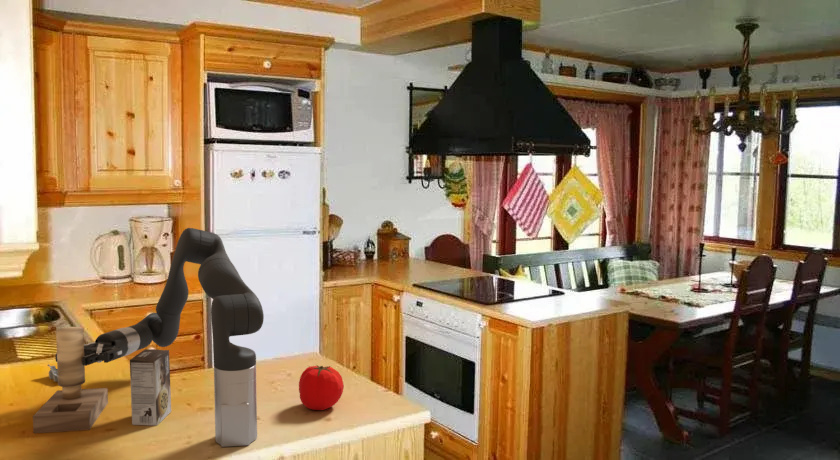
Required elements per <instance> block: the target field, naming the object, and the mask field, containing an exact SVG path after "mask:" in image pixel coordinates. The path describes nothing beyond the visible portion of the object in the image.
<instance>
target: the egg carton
mask: <svg viewBox="0 0 840 460" xmlns="http://www.w3.org/2000/svg"><path fill="white" fill-rule="evenodd" d="M47 367H49V368H50V370H49V371H48V379H50V380H53V382H58V369H57V368H56V366H55V365H51V364H49V363H48V364H47Z"/></svg>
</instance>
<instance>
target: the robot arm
mask: <svg viewBox="0 0 840 460" xmlns="http://www.w3.org/2000/svg"><path fill="white" fill-rule="evenodd" d="M176 243H177V244H176V247H175V250H174V254H173V256H172V257H173V258H172V261H171V264H170V268H169V272H168V276H167V279H166V283H165V285H164V288H163V290H162V293H161V295H160V297H159V299H158V302H157V303H156V307H155V312H151V313H149V314H148V315H146V316H145V317H144V318H143V319H141V320H140V321H139V322H137V323H136V324H134V325H133V324H132V325H130V326H126V327H121V328H116V329H115V330H111V331H108V332H104V333H101V334H99V335H98V336H97V337H96V339H95V341H93V342H88V343H84V357H83V358H82V363H83V365H84V366H85V367H86V366H90V365H92V364H95V363H98V364H99V363H102V362H103V363H105V364H107V363H110V362H112V361H115V360H119V359H121V358H123V357H127V356H129V355H131V354H133V353H134V352H136V351H140V350H142V349H143V350H144V349H145V348H147V347H149V346H150V345H151V343H152V342H153V343H154V344H155V345H156V346H158V347H160V348H165V347H166V348H167V347H168V346H171V345H172V344H173V343H174V342H175V340H176V339H177V337H178V335H179V331H180V322H181V315H182V312H183V310H184V307H185V305H186V303H187V301H188V298H189V286H188V282H187V279H186V276H185V272H184V271H185V270H184V267H185V263H186V262H188V263H192V264H196V265H197V264H198V265H199V267H198V271H197V278H198V281H199V284H200V287H201V288H202V290H203V291H204V293H205V294H206V296H208V297H209V298H210V299H212V301H211V307H210V320H211V332H212V348H213V349H212V351H213V376H214V377H213V380H214V381H213V384H214V386H213V387H214V389H213V390H214V433H215V434H214V435H215V436H214V437H215V442H216V443H217V444H219V446H220V447H221V448H226V447H238V446H239V447H241V446H242V447H243V446H250V445H251V443H252V442H254V441H255V440H257V438H258V407H257V406H258V405H257V403H258V402H257V401H258V400H257V395H258V394H257V354H256V352H255V351H254V350H253V349H252V348H249V347H245V346H240V345H237V344H234V343H232V342H231V341H230V337H236V336H237V337H238V336H246V335H252V334H254V333H257V332H259V331H260V330H261V329H262V327H263V325H264V317H265V316H264V309H263V307H262V304H261V301H260V299H259V298H258V296H257V295H256V293H255V292H254V291H253V290H252V289H251V288H250V287H249V286H248V285H247V284H246V283H245V281H244V280H243V278H242V277H241V276H240V273H239V271H238V269H237V268H236V266H235V265H234V264H233V262H232V261H231V259H230V257H229V256H228V254H227V252H226V249H225V245H224V243H223V239H221V237H220V235H219V234H217V233H214V232H211V231H207V230H202V229H200V228H199V229H197V228H193V227H187V228H185V229H184V230H183V231H182V233H181V234H180V236H179V237H178V241H177V242H176ZM54 356H55V362H56V363H57V352H56V354H55V355H54Z"/></svg>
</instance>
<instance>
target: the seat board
mask: <svg viewBox="0 0 840 460" xmlns="http://www.w3.org/2000/svg"><path fill="white" fill-rule="evenodd" d="M108 391H109V390H108V387H101V388H100V387H99V388H84V389H83V388H81V397H79V398H77V399H71V400H66V399H63V394H62V389H60V390H59V389H58V390H56V391H55V392H54V393H53V394H52V395H51V397H49V399H47V400H46V402H45V403H44V404H43V405H42V406H41V407H40V408H39V410H37V411H36V413H34V415H32V425H33V426H32V427H33V434H40V433H41V434H42V433H57V432H61V433H62V432H73V431H76V432H77V431H89V430H90V429H91V428H92V427H93V425H94V424H95V423H96V421H97V420H98V418H99V417H100V416H101V414H102V412H104V409H105V408H106V406H107V405H108V404H109V397H108V396H109V392H108Z"/></svg>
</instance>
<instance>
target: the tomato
mask: <svg viewBox="0 0 840 460" xmlns="http://www.w3.org/2000/svg"><path fill="white" fill-rule="evenodd" d="M298 392H299V393H298V394H299V399H300V402H301V404H302V405H303V406H305V407H306V408H307V409H309V410H314V411H323V410H327V409H330V408H332V407H333V406H334V405H336V404H337V403H339V401H340V399H341V398H342V395H343V392H344V381H343V377H342V375H341V373H340V372H339V371H337V369H335V368H334V367H332V366H331V365H329V366H323V365H320V366H319V365H317V364H316V365H311V366H310V365H308V366H307V368H305V369H304V371H302V373H301V375H300V377H299V382H298Z"/></svg>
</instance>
